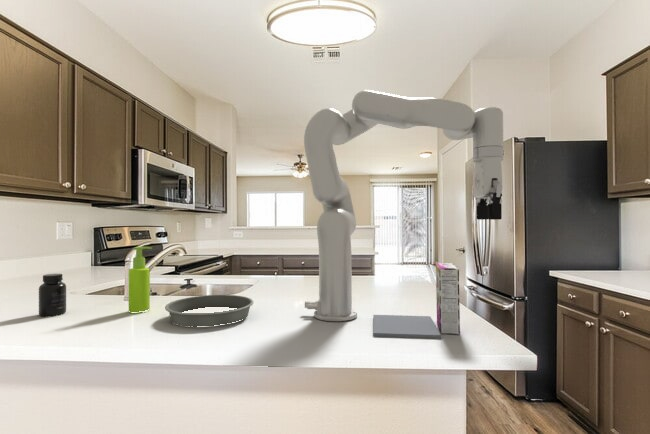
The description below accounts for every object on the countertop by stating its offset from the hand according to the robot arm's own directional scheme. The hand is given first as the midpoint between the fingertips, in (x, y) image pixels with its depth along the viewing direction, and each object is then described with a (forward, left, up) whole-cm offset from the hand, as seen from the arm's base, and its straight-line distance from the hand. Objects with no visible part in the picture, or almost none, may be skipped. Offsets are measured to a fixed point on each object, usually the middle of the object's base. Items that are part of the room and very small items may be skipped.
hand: (488, 219), depth 103 cm
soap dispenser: (-103, +5, -28) cm, 107 cm away
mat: (-23, -4, -28) cm, 36 cm away
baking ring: (-78, 0, -29) cm, 83 cm away
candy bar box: (-12, -4, -28) cm, 31 cm away
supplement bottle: (-127, -2, -28) cm, 130 cm away
